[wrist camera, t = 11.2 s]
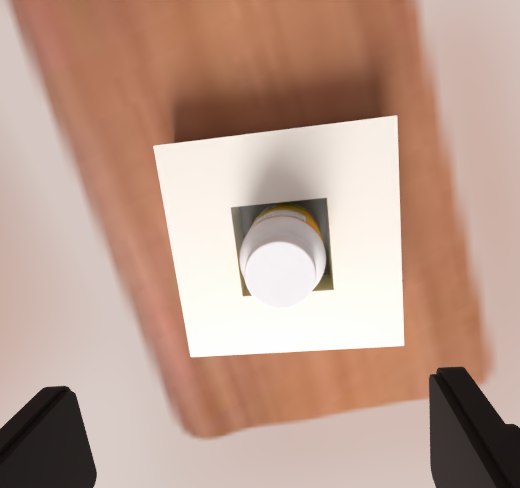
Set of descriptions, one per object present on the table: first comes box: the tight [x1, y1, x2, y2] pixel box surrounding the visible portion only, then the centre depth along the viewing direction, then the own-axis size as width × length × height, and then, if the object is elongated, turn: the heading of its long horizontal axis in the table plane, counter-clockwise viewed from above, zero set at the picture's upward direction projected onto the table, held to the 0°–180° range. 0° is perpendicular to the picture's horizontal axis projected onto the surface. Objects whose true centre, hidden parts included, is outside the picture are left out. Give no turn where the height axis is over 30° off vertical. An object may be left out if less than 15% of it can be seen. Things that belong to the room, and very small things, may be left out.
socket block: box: [153, 115, 404, 357], centre depth 29 cm, size 16×16×4 cm
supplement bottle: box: [239, 202, 326, 309], centre depth 26 cm, size 5×5×10 cm
